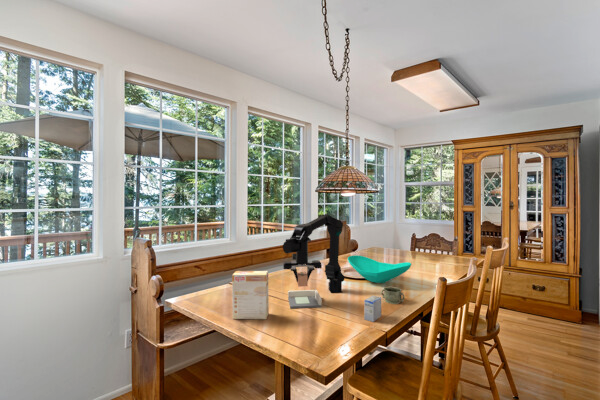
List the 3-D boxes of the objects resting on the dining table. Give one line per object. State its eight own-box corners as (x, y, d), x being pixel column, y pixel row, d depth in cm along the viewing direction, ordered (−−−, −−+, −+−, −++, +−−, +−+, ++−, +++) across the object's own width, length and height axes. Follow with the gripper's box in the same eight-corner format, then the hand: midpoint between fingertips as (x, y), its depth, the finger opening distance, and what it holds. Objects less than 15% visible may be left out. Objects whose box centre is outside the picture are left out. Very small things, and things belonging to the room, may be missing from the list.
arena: (316, 297, 161) (316, 289, 161) (321, 307, 147) (321, 298, 147) (288, 298, 160) (288, 290, 160) (290, 308, 146) (290, 300, 146)
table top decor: (338, 281, 191) (338, 259, 191) (359, 272, 213) (359, 252, 212) (402, 293, 167) (402, 269, 166) (418, 282, 188) (418, 260, 188)
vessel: (377, 301, 156) (377, 288, 155) (384, 296, 163) (384, 284, 162) (401, 306, 148) (401, 293, 148) (407, 301, 155) (407, 289, 155)
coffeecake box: (268, 313, 140) (268, 270, 140) (266, 319, 133) (266, 274, 133) (236, 312, 141) (235, 270, 140) (232, 319, 134) (231, 274, 133)
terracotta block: (307, 286, 150) (307, 275, 150) (298, 286, 150) (298, 275, 149) (305, 281, 158) (305, 271, 158) (297, 281, 158) (296, 271, 157)
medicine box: (372, 314, 139) (372, 295, 139) (381, 316, 136) (381, 297, 136) (364, 319, 133) (364, 299, 133) (373, 322, 130) (373, 302, 130)
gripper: (317, 247, 162) (317, 276, 163) (282, 248, 160) (282, 278, 161) (321, 251, 151) (321, 283, 152) (283, 252, 149) (283, 284, 150)
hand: (302, 281), depth 154 cm, fingers closed on terracotta block, 4 cm apart
